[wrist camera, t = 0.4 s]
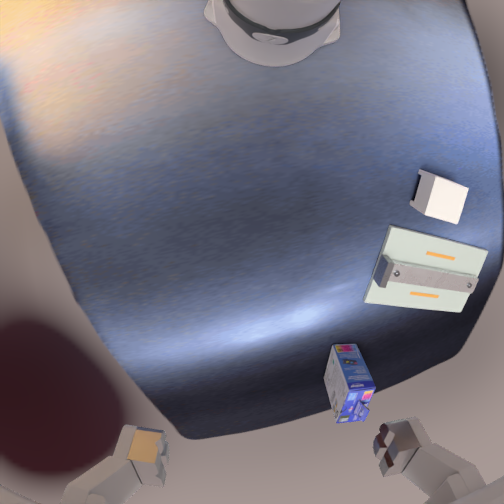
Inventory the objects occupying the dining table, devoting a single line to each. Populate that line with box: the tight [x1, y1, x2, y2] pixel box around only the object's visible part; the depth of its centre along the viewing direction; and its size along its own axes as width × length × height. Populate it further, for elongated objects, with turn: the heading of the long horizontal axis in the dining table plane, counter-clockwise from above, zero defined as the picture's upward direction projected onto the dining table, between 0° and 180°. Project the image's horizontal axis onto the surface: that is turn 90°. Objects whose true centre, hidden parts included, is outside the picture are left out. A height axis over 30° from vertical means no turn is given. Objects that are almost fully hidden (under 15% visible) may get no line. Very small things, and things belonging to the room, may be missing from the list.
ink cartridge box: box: [324, 344, 376, 423], centre depth 52 cm, size 10×6×14 cm, turn 178°
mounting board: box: [363, 225, 488, 312], centre depth 50 cm, size 14×24×1 cm, turn 80°
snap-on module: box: [409, 169, 469, 224], centre depth 42 cm, size 6×7×5 cm
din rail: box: [373, 254, 479, 293], centre depth 48 cm, size 4×23×3 cm, turn 80°
